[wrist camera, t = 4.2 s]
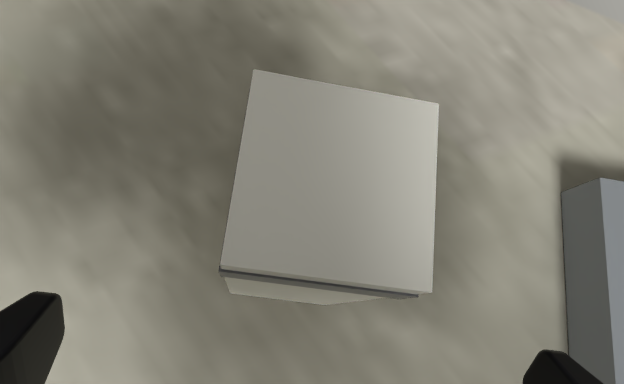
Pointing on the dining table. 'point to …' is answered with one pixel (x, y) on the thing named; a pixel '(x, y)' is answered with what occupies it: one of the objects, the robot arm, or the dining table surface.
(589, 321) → the socket
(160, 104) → the dining table surface
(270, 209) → the light grey tall block
